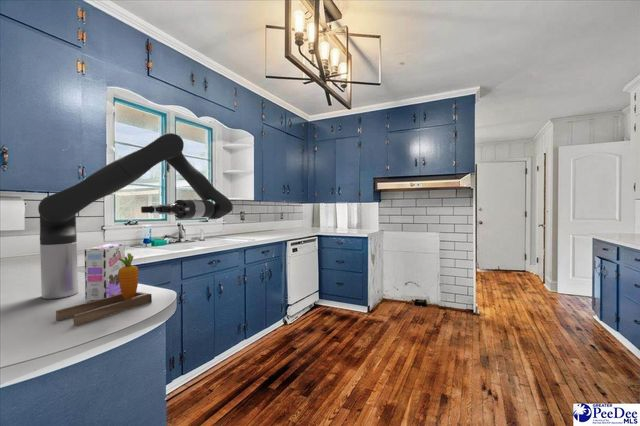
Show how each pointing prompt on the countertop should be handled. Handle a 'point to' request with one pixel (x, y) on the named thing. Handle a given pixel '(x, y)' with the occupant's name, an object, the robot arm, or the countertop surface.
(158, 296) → the countertop surface
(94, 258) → the candy box
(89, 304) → the guide channel
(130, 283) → the carrot
